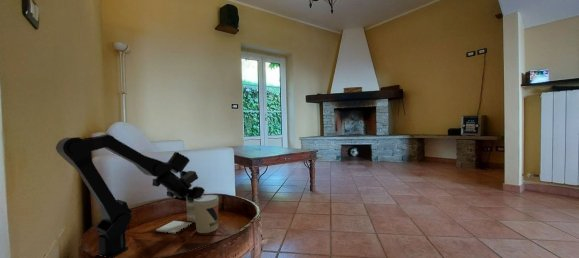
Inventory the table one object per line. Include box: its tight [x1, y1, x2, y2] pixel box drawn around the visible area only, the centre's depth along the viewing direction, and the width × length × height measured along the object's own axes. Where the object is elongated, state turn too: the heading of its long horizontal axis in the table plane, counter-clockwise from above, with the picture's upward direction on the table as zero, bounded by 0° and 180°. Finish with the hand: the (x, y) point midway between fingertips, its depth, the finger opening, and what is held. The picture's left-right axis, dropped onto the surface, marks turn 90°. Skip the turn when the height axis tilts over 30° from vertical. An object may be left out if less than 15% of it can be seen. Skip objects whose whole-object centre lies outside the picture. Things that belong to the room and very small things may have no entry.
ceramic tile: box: [155, 220, 193, 234], centre depth 99 cm, size 9×9×1 cm
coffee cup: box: [193, 194, 220, 234], centre depth 96 cm, size 9×9×12 cm
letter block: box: [185, 187, 205, 223], centre depth 106 cm, size 5×5×13 cm
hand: (198, 202), depth 108 cm, fingers closed on letter block, 5 cm apart
